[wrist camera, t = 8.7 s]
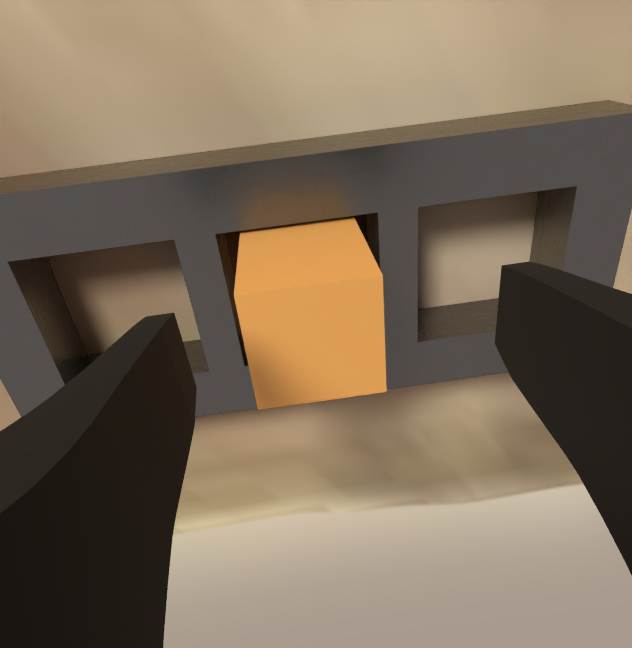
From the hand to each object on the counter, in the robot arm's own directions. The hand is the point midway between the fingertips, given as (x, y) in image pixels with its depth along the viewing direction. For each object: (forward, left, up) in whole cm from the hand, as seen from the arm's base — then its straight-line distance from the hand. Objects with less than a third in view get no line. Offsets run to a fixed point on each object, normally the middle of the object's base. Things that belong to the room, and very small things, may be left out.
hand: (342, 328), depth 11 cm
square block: (-1, +2, -10) cm, 10 cm away
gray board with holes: (-1, +2, -10) cm, 10 cm away
